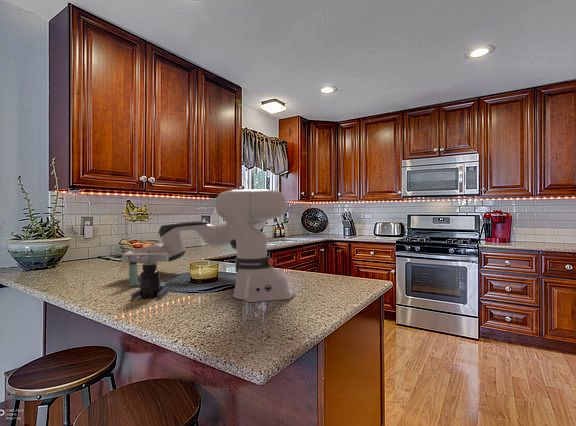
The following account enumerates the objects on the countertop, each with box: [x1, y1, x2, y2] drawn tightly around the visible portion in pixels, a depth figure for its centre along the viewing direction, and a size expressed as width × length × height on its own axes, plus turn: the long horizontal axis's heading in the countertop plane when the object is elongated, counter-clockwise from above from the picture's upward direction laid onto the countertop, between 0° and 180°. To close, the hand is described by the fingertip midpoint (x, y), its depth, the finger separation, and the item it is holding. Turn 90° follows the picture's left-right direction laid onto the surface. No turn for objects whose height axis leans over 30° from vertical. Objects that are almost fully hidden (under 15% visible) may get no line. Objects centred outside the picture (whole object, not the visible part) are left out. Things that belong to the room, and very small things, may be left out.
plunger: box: [128, 261, 168, 291], centre depth 130 cm, size 18×13×10 cm
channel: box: [130, 287, 169, 300], centre depth 120 cm, size 10×8×2 cm
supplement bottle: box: [139, 263, 161, 299], centre depth 120 cm, size 7×7×12 cm
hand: (138, 259), depth 141 cm, fingers closed
